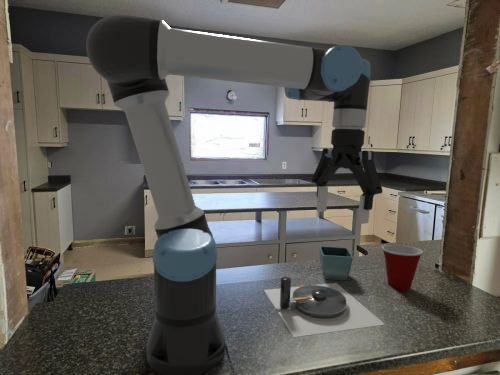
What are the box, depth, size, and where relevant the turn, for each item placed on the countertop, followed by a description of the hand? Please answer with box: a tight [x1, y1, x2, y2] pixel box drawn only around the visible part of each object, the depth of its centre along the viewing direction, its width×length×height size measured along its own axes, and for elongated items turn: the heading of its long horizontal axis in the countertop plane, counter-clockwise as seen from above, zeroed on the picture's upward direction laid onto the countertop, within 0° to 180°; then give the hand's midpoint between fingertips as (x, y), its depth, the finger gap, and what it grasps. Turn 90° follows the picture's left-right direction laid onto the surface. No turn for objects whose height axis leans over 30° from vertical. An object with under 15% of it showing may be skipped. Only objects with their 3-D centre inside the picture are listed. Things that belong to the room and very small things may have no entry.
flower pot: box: [319, 245, 354, 281], centre depth 99 cm, size 9×9×9 cm
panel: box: [263, 282, 385, 338], centre depth 81 cm, size 22×22×2 cm
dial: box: [280, 276, 346, 319], centre depth 80 cm, size 17×13×8 cm
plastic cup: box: [381, 244, 424, 293], centre depth 94 cm, size 11×11×12 cm
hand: (340, 216), depth 79 cm, fingers open, 13 cm apart
